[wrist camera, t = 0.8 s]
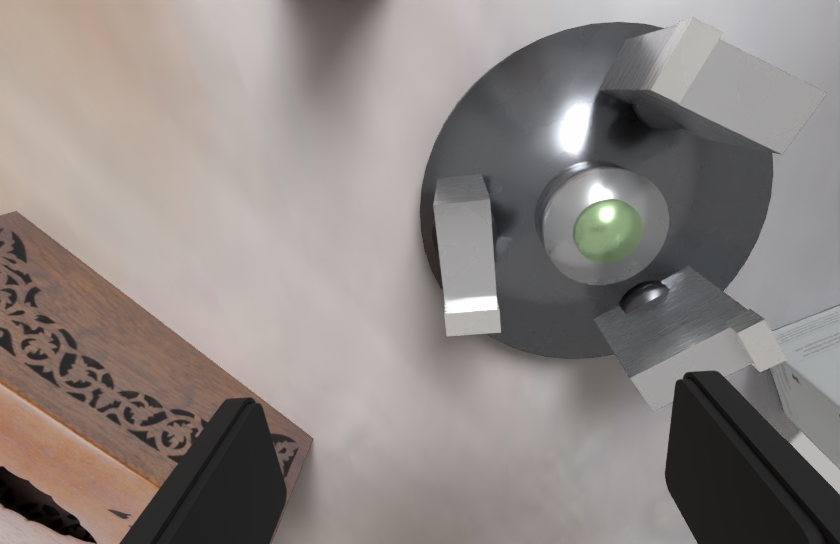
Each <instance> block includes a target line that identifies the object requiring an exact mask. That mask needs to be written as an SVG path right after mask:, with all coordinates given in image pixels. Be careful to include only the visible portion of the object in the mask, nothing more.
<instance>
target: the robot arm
mask: <svg viewBox="0 0 840 544" xmlns="http://www.w3.org/2000/svg"><path fill="white" fill-rule="evenodd" d="M665 479H666V484H667V487H668V490H669V492H670V494H671V496H672V498H673V499H674V501H675V503H676V505H677V507H678V508H679V510H680V512H681V514H682V516H683V518H684V519H685V521H686V523H687V525H688V527H689V528H690V530H691V532H692V534H693V536H694V537H695V539H696V541H697V543H698V544H840V495H839V494H838V493H837V492H836V491H835V489H834V488H833V487H832V486H831V485H830V484H829V483H828V482H827V481H826V480H825V479H824V478H823V477H822V476H821V475H820V474H819V473H818V472H817V471H816V470H815V469H814V468H813V467H812V466H811V465H810V464H809V463H808V462H807V461H806V460H805V459H804V458H803V457H802V456H801V455H800V453H798V451H797V450H796V449H795V448H794V447H793V446H792V445H791V444H790V443H789V442H788V441H787V440H785V439H784V438H783V437H782V436H781V435H780V434H779V433H778V432H777V431H776V430H775V429H774V428H773V427H772V426H771V425H770V424H769V423H768V422H767V421H766V420H765V419H764V418H763V417H762V416H761V415H760V414H759V413H758V411H757V410H756V409H755V408H754V407H753V406H752V405H751V404H750V403H749V402H748V401H747V400H746V399H745V398H744V397H743V396H742V395H741V394H740V393H739V392H738V391H737V390H736V389H735V388H734V387H733V386H732V385H731V384H730V383H729V382H728V381H727V380H726V379H725V377H724V376H723V375H722V374H720V373H719V372H718V371H714V370H712V371H695V372H687V373H685V374H684V376H683V379H679V380H677V381H676V384H675V390H674V399H673V408H672V417H671V425H670V434H669V443H668V452H667V461H666V469H665ZM286 498H287V488H286V484H285V481H284V477H283V474H282V471H281V467H280V464H279V461H278V457H277V454H276V450H275V447H274V444H273V440H272V437H271V434H270V430H269V427H268V423H267V420H266V417H265V413H264V410H263V407H262V405H261V404H260V403H256V402H255V400H254V399H253V398H251V397H246V398H229V399H226V400H225V401H224V402H223V403H222V404H221V406H220V407H219V408H218V410H217V411H216V412H215V414H214V415H213V416H212V418H211V419H210V421H209V422H208V423H207V425H206V426H205V427H204V429H203V430H202V431H201V433H200V434H199V436H198V437H197V438H196V440H195V441H194V442H193V444H192V445H191V446H190V448H189V449H188V451H187V452H186V453H185V455H184V456H183V457H182V459H181V460H180V461H179V463H178V464H177V466H176V467H175V468H174V470H173V471H172V472H171V474H170V475H169V476H168V478H167V479H166V481H165V482H164V483H163V485H162V486H161V487H160V489H159V490H158V491H157V493H156V494H155V496H154V497H153V498H152V500H151V501H150V502H149V504H148V505H147V506H146V508H145V509H144V511H143V512H142V513H141V515H140V516H139V517H138V519H137V520H136V521H135V523H134V524H133V526H132V527H131V528H130V530H129V531H128V532H127V534H126V535H125V536H124V538H123V539H122V541H121V542H120V543H119V544H270V541H271V539H272V536H273V534H274V531H275V529H276V526H277V524H278V521H279V519H280V516H281V514H282V511H283V509H284V506H285V503H286Z"/></svg>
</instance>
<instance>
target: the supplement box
mask: <svg viewBox="0 0 840 544" xmlns="http://www.w3.org/2000/svg"><path fill="white" fill-rule="evenodd" d="M772 333H773V335H774V337H775V339H776V341H777V342H778V344H779V346H780V348H781V350H782V352H783V353H784V355H785V357H786V359H787V360H785V361H783V362H781V363H779V364H777V365H775V366H773V367H771V368H770V370H771V373H772V376H773V379H774V382H775V385H776V388H777V391H778V394H779V397H780V400H781V403H782V406H783V410H784V413H785V415H786V416H787V417H788V418H789V419H790V420H791V421H792V422H793V423H794V424H795V425H796V426H797V427H798V428H799V429H800V430H801V431H802V432H803V433H804V434H805V435H806V436H807V437H808V438H809V439H810V440H811V441H812V442H813V443H814V444H815V445H816V446H817V447H818V448H819V449H820V450H821V451H822V452H823V453H824V454H825V455H826V456H827V457H828V458H829V459H830V460H831V461H832V462H833V463H834V464H835V465H836V466H837V467H838V468H839V469H840V305H839V306H837V307H834V308H831V309H828V310H826V311H823V312H821V313H818V314H815V315H813V316H810V317H807V318H805V319H802V320H800V321H797V322H795V323H792V324H789V325H787V326H784V327H782V328H779V329H777V330H774V331H772Z"/></svg>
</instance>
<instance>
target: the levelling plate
mask: <svg viewBox="0 0 840 544" xmlns="http://www.w3.org/2000/svg"><path fill="white" fill-rule="evenodd" d="M662 29H665V28H661V27H656V26H652V25H647V24H639V23H625V22H613V23H599V24H590V25H585V26H581V27H576V28H571V29H567V30H564V31H561V32H558V33H555V34H553V35H550V36H547V37H544V38H542V39H539V40H537V41H535V42H533V43H532V44H530V45H528V46H526V47H524V48H522V49H520V50H518V51H516V52H514V53H513V54H511V55H510V56H508V57H507V58H505V59H504V60H502V61H501V62H500V63H498V64H497V65H495V66H494V67H492V68H491V69H490V70H489V71H488V72H487V73H485V74H484V75H483V76H482V77H481V78H480V79H479V80H478V81H477V82H475V83H474V84H473V85H472V86H471V88H470V89H469V90H468V91H467V92H466V93H465V95H464V96H463V97H462V98H461V99H460V100H459V102H458V103H457V104H456V106H455V107H454V109H453V110H452V112H451V113H450V115H449V116H448V118H447V119H446V121H445V123H444V125H443V127H442V129H441V131H440V133H439V135H438V137H437V139H436V141H435V143H434V146H433V149H432V152H431V155H430V158H429V160H428V163H427V166H426V171H425V175H424V180H423V185H422V191H421V205H420V218H421V232H422V237H423V243H424V248H425V252H426V255H427V258H428V261H429V264H430V267H431V269H432V272H433V274H434V275H435V277H436V279H437V281H438V283H439V285H440V287H441V289H442V290H443V284H442V275H441V267H440V258H439V253H438V252H437V251H436V249H435V247H434V244H433V240H432V229H433V222H434V219H435V215H434V206H433V204H434V198H435V192H436V186H437V180H438V179H440V178H449V177H458V176H467V175H476V174H482V177H483V180H484V183H485V186H486V189H487V191H488V194H489V197H490V205H491V212H492V214H493V216H494V218H495V221H496V225H497V229H498V239H497V243H496V246H495V248H494V249H493V250H494V264H495V279H496V294H497V300H498V305H499V309H500V325H501V333H487V335H489V336H491V337H492V338H494V339H496V340H498V341H500V342H502V343H504V344H506V345H508V346H510V347H513V348H516V349H519V350H522V351H525V352H528V353H533V354H537V355H542V356H547V357H556V358H593V357H601V356H608V355H612V354H615V353H614V351H613V350H612V348H611V347H610V345H609V343H608V342H607V340H606V338H605V337H604V335H603V334H602V332H601V330H600V329H599V327H598V325H597V324H596V322H595V321H594V319H595V318H597V317H598V316H600V315H602V314H604V313H605V312H607V311H609V310H611V309H613V308H614V307H616V306H618V305H619V303H620V300H621V299H622V297H623V296H624V294H625V293H626V292H627V291H628V290H629V289H631V288H632V287H634V286H635V285H637V284H639V283H642V282H646V281H654V280H656V281H662V280H664V279H666V278H668V277H669V276H671V275H673V274H675V273H676V272H678V271H680V270H682V269H684V268H685V267H687V266H690V267H691V268H692V269H694V270H695V271H696V272H698V273H699V274H700V275H702V276H703V277H704V278H706V279H707V280H708V281H710V282H711V283H712V284H714V285H715V286H716V287H718V288H719V289H720V290H722V291H724V289H725V288H726V287H727V286H728V285H729V284H730V283H731V281H732V280H733V279H734V278H735V276H736V275H737V273H738V272H739V270H740V269H741V268H742V266H743V265H744V263H745V262H746V260H747V258H748V257H749V255H750V253H751V251H752V249H753V247H754V245H755V243H756V242H757V239H758V237H759V234H760V232H761V229H762V226H763V224H764V221H765V218H766V214H767V210H768V206H769V202H770V198H771V189H772V179H773V161H772V152H767V151H762V150H757V149H752V148H747V147H742V146H737V145H732V144H727V143H722V142H717V141H712V140H707V139H702V138H700V137H698V136H696V135H694V134H692V133H690V132H687V131H685V130H683V129H678V130H672V131H666V130H659V129H654V128H649V127H646V126H644V125H642V124H640V123H639V122H638V121H637V120H636V119H635V118H634V117H633V115H632V114H631V112H630V109H629V106H628V103H626V102H624V101H622V100H620V99H618V98H616V97H614V96H612V95H610V94H607V93H605V92H603V91H601V90H599V88H600V86H601V84H602V83H603V81H604V79H605V77H606V75H607V73H608V71H609V70H610V68H611V66H612V64H613V62H614V60H615V59H616V57H617V55H618V53H619V51H620V49H621V47H622V46H623V44H624V42H625V40H626V39H630V38H633V37H637V36H640V35H644V34H647V33H651V32H654V31H658V30H662Z"/></svg>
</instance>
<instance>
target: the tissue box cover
mask: <svg viewBox="0 0 840 544" xmlns="http://www.w3.org/2000/svg"><path fill="white" fill-rule="evenodd" d="M246 397H251V398H253V399H254V400H255V402H256V403H260V404H261V405H262V407H263V410H264V413H265V417H266V420H267V423H268V427H269V430H270V434H271V437H272V440H273V444H274V447H275V450H276V454H277V457H278V461H279V464H280V467H281V471H282V474H283V477H284V481H285V484H286V488H287V498H286V503H285V506H284V509H283V511H282V514H281V516H280V519H279V521H278V524H277V526H276V529H275V531H274V534H273V536H272V539H271V541H270V544H271V543H272V541H273V538H274V536H275V533H276V531H277V528H278V526H279V523H280V521H281V518H282V516H283V513H284V511H285V508H286V505H287V503H288V500H289V498H290V495H291V493H292V490H293V488H294V485H295V483H296V480H297V478H298V475H299V473H300V470H301V468H302V465H303V463H304V460H305V458H306V455H307V453H308V450H309V447H310V445H311V442H312V440H313V438H312V437H311V436H310V435H308V434H307V433H306V432H304V431H303V430H302V429H300V428H299V427H298V426H296V425H295V424H294V423H293V422H291V421H290V420H289V419H287V418H286V417H285V416H283V415H282V414H281V413H279V412H278V411H277V410H276V409H274V408H273V407H272V406H270V405H269V404H268V403H266V402H265V401H264V400H262V399H261V398H260V397H259V396H257V395H256V394H255V393H253V392H252V391H251V390H249V389H248V388H247V387H246V386H244V385H243V384H242V383H240V382H239V381H238V380H236V379H235V378H234V377H232V376H231V375H230V374H229V373H227V372H226V371H225V370H223V369H222V368H221V367H219V366H218V365H217V364H215V363H214V362H213V361H212V360H210V359H209V358H208V357H206V356H205V355H204V354H202V353H201V352H200V351H198V350H197V349H196V348H195V347H193V346H192V345H191V344H189V343H188V342H187V341H185V340H184V339H183V338H181V337H180V336H179V335H178V334H176V333H175V332H174V331H172V330H171V329H170V328H168V327H167V326H166V325H164V324H163V323H162V322H161V321H159V320H158V319H157V318H155V317H154V316H153V315H151V314H150V313H149V312H148V311H146V310H145V309H144V308H142V307H141V306H140V305H138V304H137V303H136V302H134V301H133V300H132V299H131V298H129V297H128V296H127V295H125V294H124V293H123V292H121V291H120V290H119V289H117V288H116V287H115V286H114V285H112V284H111V283H110V282H108V281H107V280H106V279H104V278H103V277H102V276H100V275H99V274H98V273H97V272H95V271H94V270H93V269H91V268H90V267H89V266H87V265H86V264H85V263H83V262H82V261H81V260H80V259H78V258H77V257H76V256H74V255H73V254H72V253H70V252H69V251H68V250H66V249H65V248H64V247H63V246H61V245H60V244H59V243H57V242H56V241H55V240H53V239H52V238H51V237H50V236H48V235H47V234H46V233H44V232H43V231H42V230H40V229H39V228H38V227H36V226H35V225H34V224H33V223H31V222H30V221H29V220H27V219H26V218H25V217H23V216H22V215H21V214H19V213H18V212H17V211H15V212H11V213H8V214H4V215H1V216H0V544H119V543H120V542H121V541H122V539H123V538H124V536H125V535H126V534H127V532H128V531H129V530H130V528H131V527H132V526H133V524H134V523H135V521H136V520H137V519H138V517H139V516H140V515H141V513H142V512H143V511H144V509H145V508H146V506H147V505H148V504H149V502H150V501H151V500H152V498H153V497H154V496H155V494H156V493H157V491H158V490H159V489H160V487H161V486H162V485H163V483H164V482H165V481H166V479H167V478H168V476H169V475H170V474H171V472H172V471H173V470H174V468H175V467H176V466H177V464H178V463H179V461H180V460H181V459H182V457H183V456H184V455H185V453H186V452H187V451H188V449H189V448H190V446H191V445H192V444H193V442H194V441H195V440H196V438H197V437H198V436H199V434H200V433H201V431H202V430H203V429H204V427H205V426H206V425H207V423H208V422H209V421H210V419H211V418H212V416H213V415H214V414H215V412H216V411H217V410H218V408H219V407H220V406H221V404H222V403H223V402H224V401H225V400H226V399H229V398H246Z"/></svg>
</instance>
